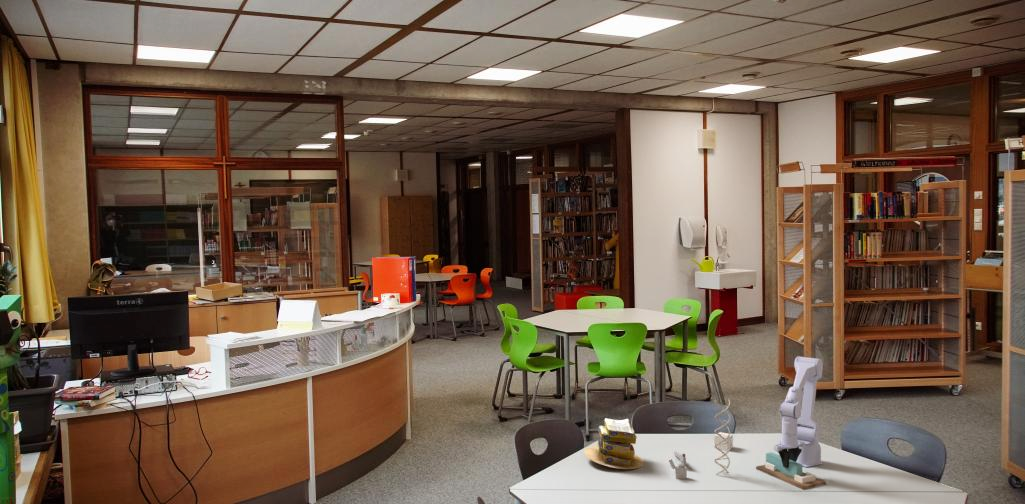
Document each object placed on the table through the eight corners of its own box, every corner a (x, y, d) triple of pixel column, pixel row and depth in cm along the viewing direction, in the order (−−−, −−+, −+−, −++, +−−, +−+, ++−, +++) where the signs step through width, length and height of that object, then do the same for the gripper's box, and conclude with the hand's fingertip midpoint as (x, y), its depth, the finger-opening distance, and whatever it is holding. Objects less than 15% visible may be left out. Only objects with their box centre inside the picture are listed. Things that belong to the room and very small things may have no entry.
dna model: (724, 469, 285) (724, 396, 284) (733, 475, 279) (734, 400, 278) (710, 471, 283) (710, 398, 282) (719, 477, 277) (719, 402, 276)
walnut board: (778, 464, 291) (778, 461, 291) (825, 484, 269) (826, 481, 269) (756, 468, 286) (756, 466, 286) (802, 489, 264) (802, 486, 264)
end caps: (778, 464, 288) (778, 460, 288) (815, 480, 271) (815, 475, 271) (765, 467, 285) (765, 462, 285) (802, 483, 268) (802, 478, 268)
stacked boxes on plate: (646, 454, 305) (646, 416, 304) (640, 474, 281) (640, 433, 280) (589, 449, 312) (589, 412, 311) (579, 468, 288) (579, 428, 287)
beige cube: (714, 448, 312) (714, 435, 312) (719, 445, 317) (719, 432, 316) (727, 451, 308) (727, 437, 308) (732, 447, 313) (732, 434, 312)
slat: (771, 464, 289) (771, 452, 288) (802, 477, 274) (802, 464, 274) (765, 465, 287) (766, 453, 287) (796, 478, 273) (796, 465, 273)
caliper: (686, 470, 286) (686, 455, 286) (683, 470, 286) (683, 455, 286) (675, 453, 306) (676, 439, 306) (673, 453, 306) (673, 439, 306)
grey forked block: (685, 477, 278) (685, 457, 277) (686, 478, 276) (686, 458, 276) (667, 477, 278) (667, 457, 278) (668, 478, 276) (668, 458, 276)
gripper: (795, 427, 284) (794, 460, 285) (768, 432, 278) (767, 466, 279) (809, 432, 278) (808, 466, 278) (781, 437, 272) (781, 472, 272)
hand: (789, 466), depth 278 cm, fingers closed on slat, 3 cm apart
